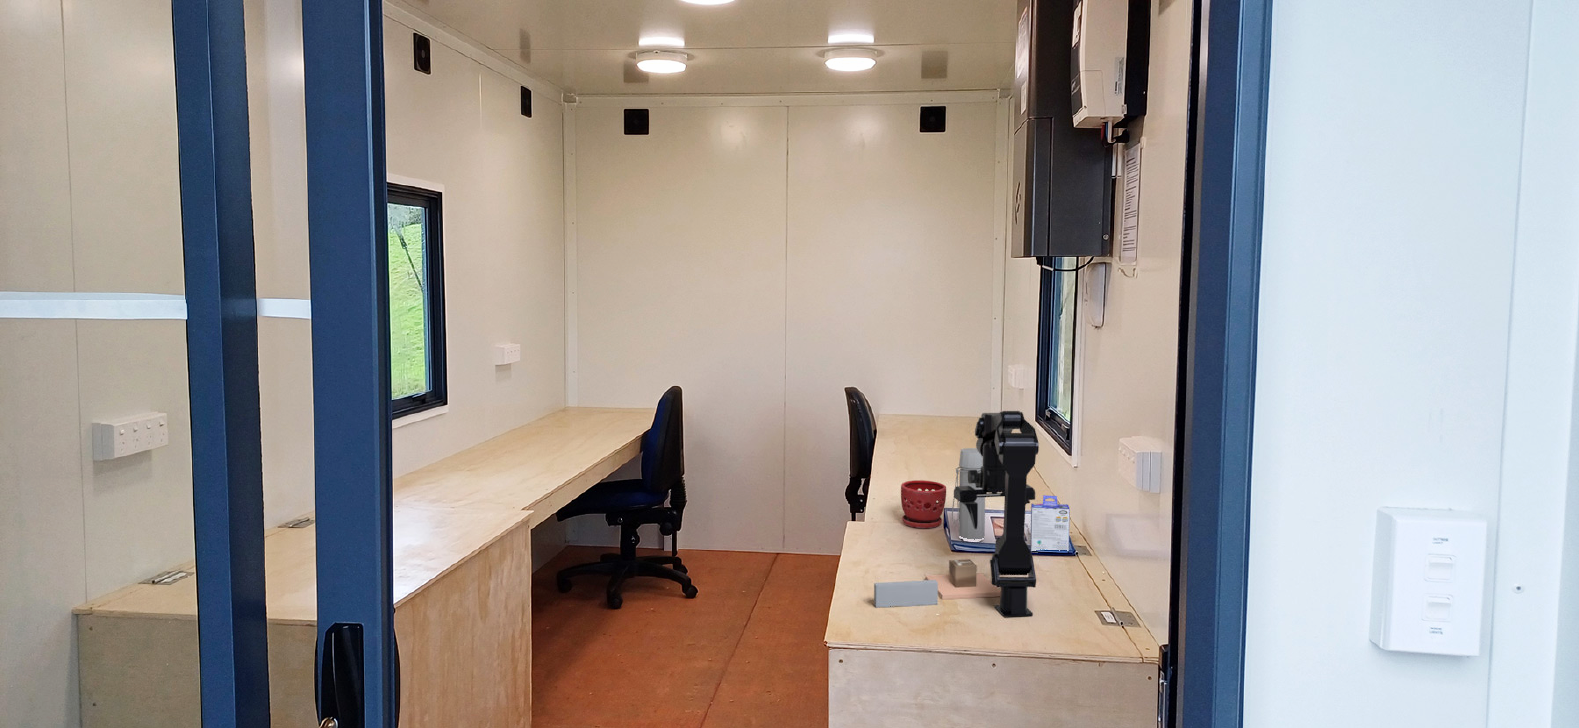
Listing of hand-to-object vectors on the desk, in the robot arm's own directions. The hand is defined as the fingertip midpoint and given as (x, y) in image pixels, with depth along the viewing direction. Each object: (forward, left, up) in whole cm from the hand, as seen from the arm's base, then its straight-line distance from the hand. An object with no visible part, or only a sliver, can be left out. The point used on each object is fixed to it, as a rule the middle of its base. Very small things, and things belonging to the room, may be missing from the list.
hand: (993, 527), depth 232 cm
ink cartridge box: (+18, -22, -12) cm, 31 cm away
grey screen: (-16, +26, -12) cm, 33 cm away
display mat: (-7, +10, -12) cm, 17 cm away
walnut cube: (-7, +10, -11) cm, 16 cm away
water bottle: (+31, -4, -12) cm, 34 cm away
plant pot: (+48, +4, -12) cm, 50 cm away
